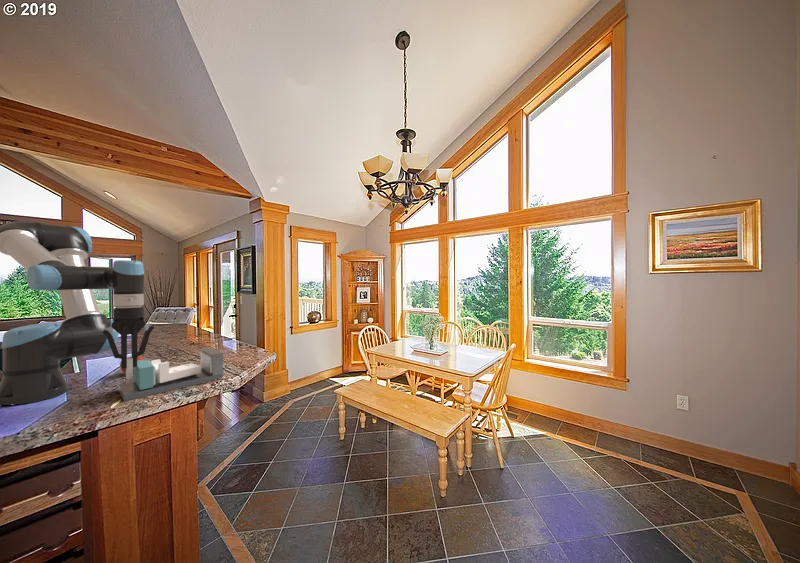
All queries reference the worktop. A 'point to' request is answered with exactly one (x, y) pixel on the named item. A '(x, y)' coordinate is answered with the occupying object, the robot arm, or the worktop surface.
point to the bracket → (173, 371)
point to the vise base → (164, 385)
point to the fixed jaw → (211, 361)
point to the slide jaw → (144, 374)
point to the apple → (133, 367)
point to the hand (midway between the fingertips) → (129, 377)
